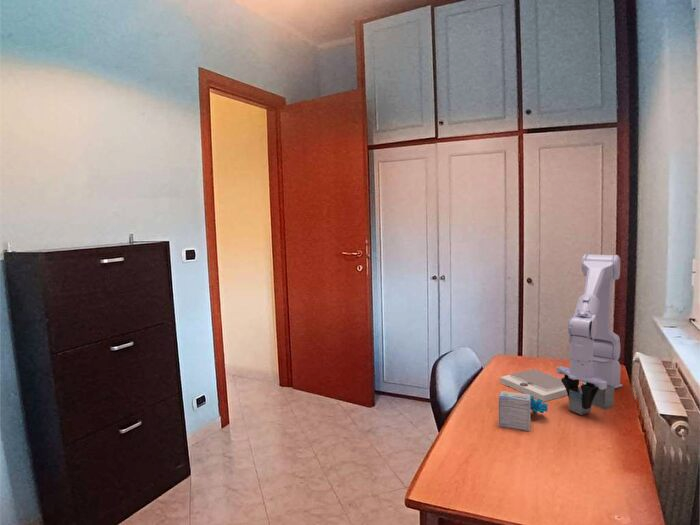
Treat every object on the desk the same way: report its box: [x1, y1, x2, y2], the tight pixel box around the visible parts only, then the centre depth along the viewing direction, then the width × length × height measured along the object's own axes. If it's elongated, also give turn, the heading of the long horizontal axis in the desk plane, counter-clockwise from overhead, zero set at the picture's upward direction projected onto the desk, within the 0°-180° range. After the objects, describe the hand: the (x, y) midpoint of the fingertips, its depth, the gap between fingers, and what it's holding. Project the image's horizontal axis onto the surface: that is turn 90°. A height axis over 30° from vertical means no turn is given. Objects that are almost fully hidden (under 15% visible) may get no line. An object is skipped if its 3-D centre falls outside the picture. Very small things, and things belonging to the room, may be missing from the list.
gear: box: [521, 392, 548, 414], centre depth 128 cm, size 11×6×10 cm
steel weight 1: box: [568, 386, 592, 416], centre depth 130 cm, size 4×4×6 cm
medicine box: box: [497, 390, 532, 432], centre depth 123 cm, size 8×4×9 cm, turn 65°
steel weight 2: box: [592, 384, 615, 410], centre depth 134 cm, size 4×4×6 cm
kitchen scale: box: [499, 368, 568, 403], centre depth 149 cm, size 14×18×3 cm
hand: (579, 405), depth 130 cm, fingers closed on steel weight 1, 4 cm apart
